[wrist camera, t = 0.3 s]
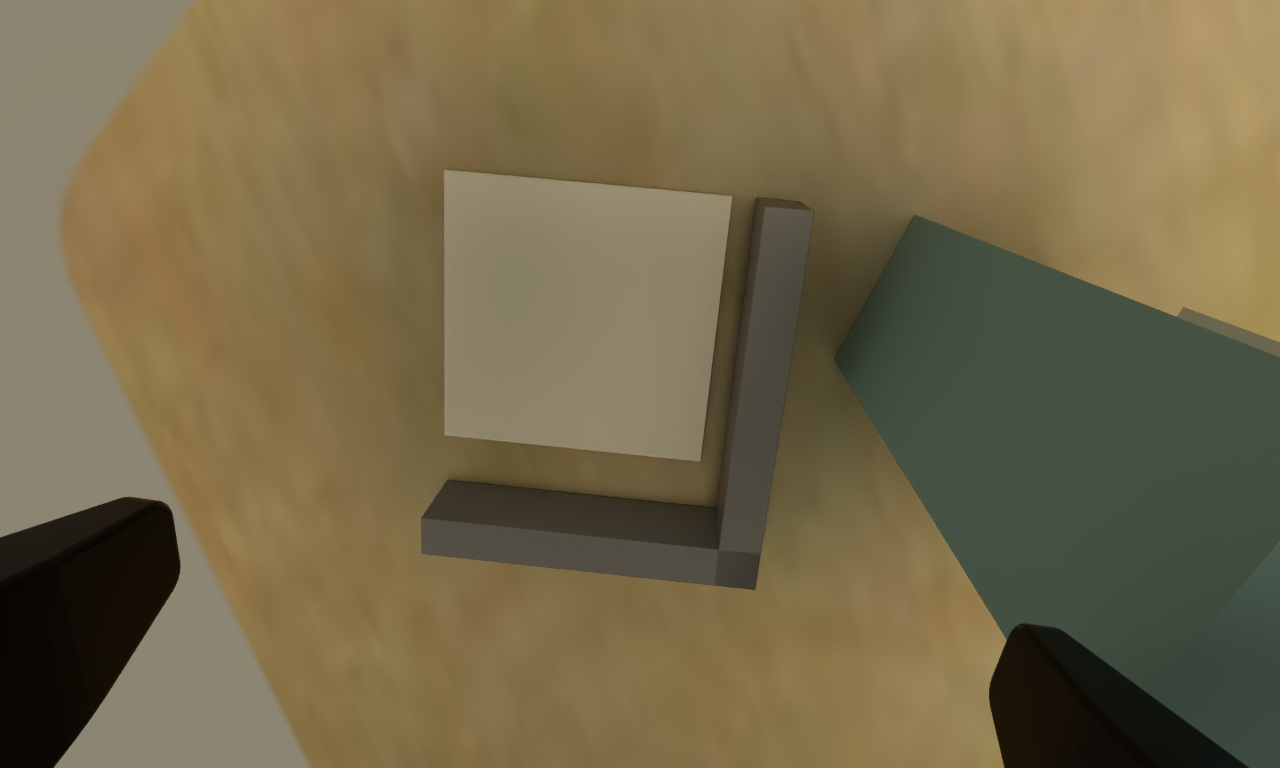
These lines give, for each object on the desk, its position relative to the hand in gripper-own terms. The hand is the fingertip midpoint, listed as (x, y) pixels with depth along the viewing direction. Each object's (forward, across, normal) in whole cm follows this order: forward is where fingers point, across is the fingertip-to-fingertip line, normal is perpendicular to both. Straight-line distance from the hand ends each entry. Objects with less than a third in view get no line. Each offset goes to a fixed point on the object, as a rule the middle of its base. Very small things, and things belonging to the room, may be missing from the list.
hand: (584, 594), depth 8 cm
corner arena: (+15, +1, +4) cm, 15 cm away
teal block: (+15, -8, +1) cm, 17 cm away
